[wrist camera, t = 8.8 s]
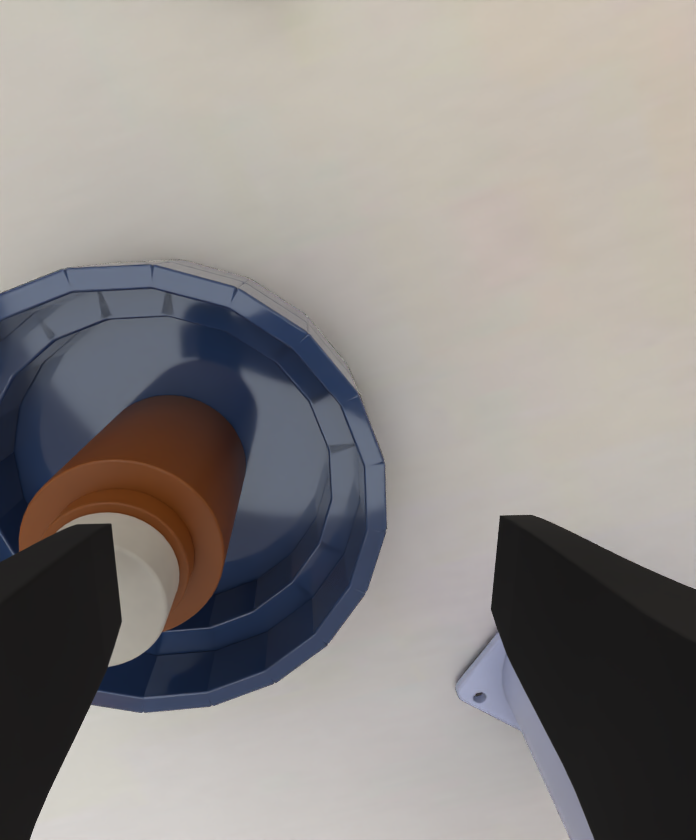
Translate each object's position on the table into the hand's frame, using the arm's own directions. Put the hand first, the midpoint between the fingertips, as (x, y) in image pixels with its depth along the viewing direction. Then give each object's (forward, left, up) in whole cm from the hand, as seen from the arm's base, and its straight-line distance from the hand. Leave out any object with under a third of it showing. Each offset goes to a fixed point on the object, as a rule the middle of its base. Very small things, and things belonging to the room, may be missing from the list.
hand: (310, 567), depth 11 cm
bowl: (+3, +4, -10) cm, 11 cm away
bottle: (+3, +4, -9) cm, 10 cm away
